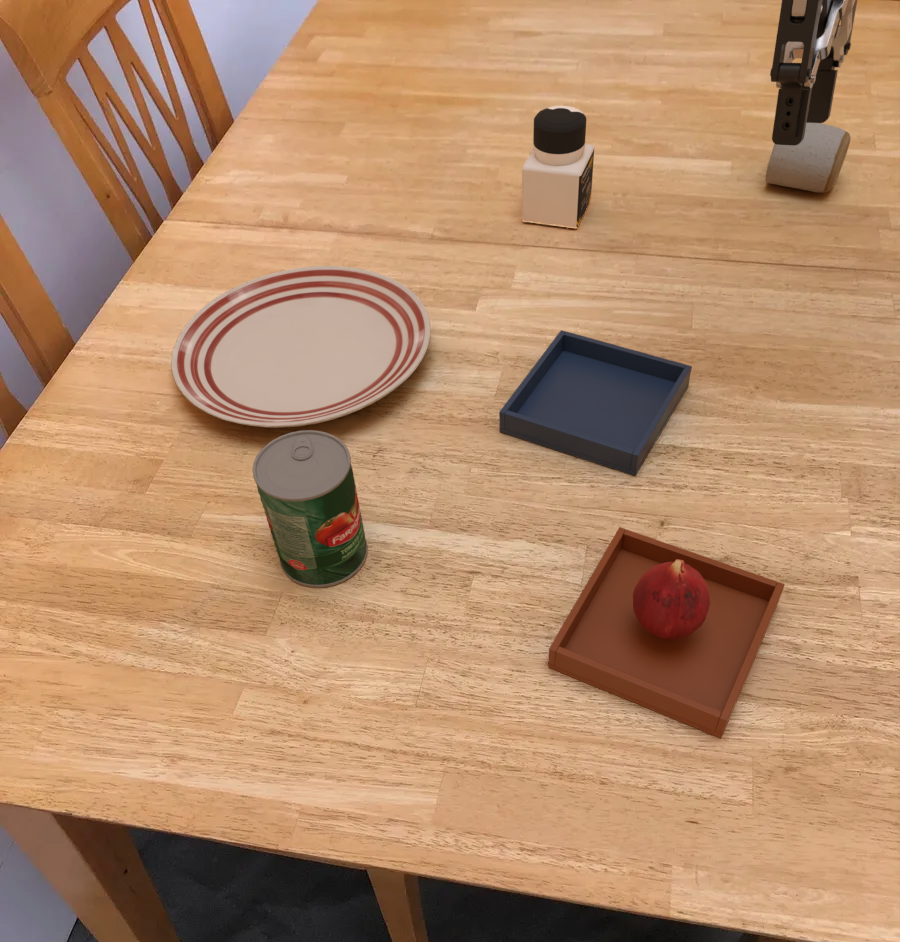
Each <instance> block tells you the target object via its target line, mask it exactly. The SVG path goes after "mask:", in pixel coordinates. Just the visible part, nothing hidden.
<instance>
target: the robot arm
mask: <svg viewBox="0 0 900 942" xmlns="http://www.w3.org/2000/svg"><path fill="white" fill-rule="evenodd" d="M857 3H858V0H781V5H780V12H779V19H778V25H777V31H776V39H775V46H774V51H773V59H772V65H771V68H770V73H769V77H770V82H771V83H775V87H776V89H778V92H777V99H776V107H775V113H774V120H773V128H772V133H771V141H772V143H773V144H777V145H794V146H795V145H798V144H799V143H800V142H802V141H803V139H804V135H805V129H806V123H822V124H825V122H827V121H828V120H829V119H830V117H831V112H832V107H833V101H834V100H833V99H834V95H835V89H836V83H837V78H838V72H839V70H838V69H837V68H839V69H840V68H841V67H842V64H843V63H844V61H845V56H847V55H848V53H849V51H850V50H851V46H852V41H851V39H852V33H853V30H854V29H853V28H854V23H855V18H856V17H855V16H856V10H857ZM796 59H801V62H793V61H795V60H796Z"/></svg>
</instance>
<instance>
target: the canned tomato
mask: <svg viewBox="0 0 900 942" xmlns="http://www.w3.org/2000/svg"><path fill="white" fill-rule="evenodd" d="M352 466H353V465H352V458H351V453H350V450H349V448H348V447H347V445H346V444H345V443H344V442H343V441H342V440H341V439H340V438H338V437H337V436H336V435H333V434H331V433H329V432H327V431H326V432H325V431H321V430H315V429H314V430H312V429H308V430H307V429H305V430H297V431H291V432H288V433H285V434H283V435H280V436H278V437H276V438H274V439H272V440H271V441H270V442H268V443H266V445H265V446H263V448H261V449H260V450H259V452H258V453H257V455H256V456H255V459H254V461H253V464H252V477H253V478H252V479H253V480H254V482H255V484H256V488H257V493H258V495H259V497H260V502H261V504H262V508H263V511H264V515H265V517H266V521H267V523H268V528H269V531H270V535H271V537H272V540H273V544H274V548H275V550H276V553H277V556H278V559H279V565H280V568H281V569H282V571H283V574H285V576H286V577H287V578H288V579H290V580H291V581H292V582H294V583H296V584H298V585H300V586H304V587H308V588H317V589H319V588H328V587H333V586H337V585H339V584H342V583H344V582H346V581H348V580H349V579H351V578H352V577H353V576H355V575H356V574H357V573H358V572H359V571H360V570H361V568H363V566H364V564H365V562H366V561H367V560H366V559H367V556H368V548H369V547H368V542H367V539H366V532H365V527H364V523H363V517H362V512H361V506H360V501H359V496H358V492H357V486H356V480H355V476H354V470H353V467H352Z"/></svg>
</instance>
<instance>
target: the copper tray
mask: <svg viewBox="0 0 900 942" xmlns="http://www.w3.org/2000/svg"><path fill="white" fill-rule="evenodd" d="M677 559H680V560H683V561H684V564H688V565H690V566H691V567H692V568H694V569H695V570H697V571H698V572H699V573H700V574H701V576H702V577H703V579H704V580H705V582H706V583H707V585H708V590H709V597H710V606H709V610H708V613H707V616H706V619H705V621H704V622H703V624H702V625H701V627H699V628H698V629H697V630H696V631H694V632H693V633H692V634H691V635H689V636H687V637H683V638H679V639H675V640H673V639H665V638H660V637H658V636H656V635H653V634H651V633H649V632H648V631H647V630H646V629H645V628H644V627H643V626H642V625H641V624H640V622H639V621H638V619H637V617H636V615H635V613H634V608H633V592H634V589H635V587H636V585H637V583H638V581H639V580H640V578H641V577H642V575H643V574H644V573H646V572H647V571H648V570H650V569H651V568H652V567H654V566H656V565H658V564H662V563H666V562H675V561H676V560H677ZM784 588H785V583H782V582H780V581H777V580H774V579H772V578H768V577H766V576H762V575H759V574H756V573H753V572H750V571H748V570H745V569H743V568H739V567H736V566H734V565H730V564H728V563H725V562H722V561H719V560H716V559H713V558H710V557H708V556H704V555H702V554H699V553H696V552H693V551H690V550H687V549H684V548H681V547H679V546H676V545H672V544H670V543H667V542H664V541H661V540H658V539H656V538H652V537H650V536H647V535H644V534H641V533H638V532H635V531H633V530H630V529H626V528H625V527H620V526H619V527H618V529H617V531H616V532H615V534H614V536H613V538H612V539H611V541H610V542H609V544H608V546H607V547H606V549H605V551H604V553H603V554H602V556H601V558H600V560H599V562H598V563H597V565H596V566H595V568H594V570H593V572H592V574H591V575H590V577H589V579H588V580H587V582H586V584H585V586H583V589H582V591H581V593H580V594H579V596H578V598H577V600H576V601H575V603H574V605H573V606H572V608H571V609H570V611H569V613H568V615H567V617H566V619H564V622H563V624H562V625H561V627H560V628H559V631H558V632H557V634H556V636H555V638H554V639H553V641H552V642H551V645H550V646H549V648H548V657H547V658H548V659H547V662H548V663H547V668H549V669H552V670H554V671H556V672H558V673H561V674H564V675H566V676H568V677H571V678H573V679H576V680H578V681H580V682H583V683H585V684H588V685H590V686H592V687H595V688H597V689H600V690H602V691H605V692H607V693H610V694H612V695H615V696H617V697H619V698H622V699H624V700H626V701H629V702H632V703H634V704H637V705H639V706H642V707H643V708H646V709H647V710H648V709H649V710H650V711H654V712H656V713H659V714H661V715H663V716H665V717H668V718H670V719H672V720H675V721H678V722H680V723H683V724H685V725H687V726H689V727H692V728H694V729H697V730H700V731H702V732H703V733H706V734H709V735H711V736H714V737H717V738H719V739H722V738H723V735H724V733H725V731H726V728H727V726H728V723H729V721H730V719H731V716H732V714H733V711H734V709H735V707H736V705H737V703H738V700H739V697H740V695H741V692H742V690H743V688H744V686H745V683H746V681H747V679H748V676H749V673H750V671H751V668H752V666H753V665H754V661H755V659H756V657H757V655H758V652H759V650H760V647H761V645H762V643H763V640H764V637H765V635H766V633H767V630H768V629H769V626H770V624H771V621H772V619H773V616H774V614H775V612H776V609H777V607H778V605H779V602H780V599H781V596H782V594H783V591H784Z"/></svg>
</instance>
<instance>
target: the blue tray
mask: <svg viewBox="0 0 900 942" xmlns="http://www.w3.org/2000/svg"><path fill="white" fill-rule="evenodd" d="M692 369H693V366H692V365H689V364H687V363H682V362H679V361H675V360H671V359H668V358H665V357H661V356H657V355H654V354H649V353H646V352H642V351H639V350H635V349H631V348H628V347H624V346H620V345H617V344H614V343H610V342H606V341H602V340H599V339H595V338H591V337H589V336H585V335H581V334H577V333H574V332H569V331H566V330H562V329H561V330H560V331H559V332H558V333H557V334H556V336H555V337H554V339H553V340H552V341H551V343H550V344H549V345H548V346H547V348H546V349H545V351H544V352H543V353H542V354H541V356H540V357H539V359H538V360H537V361H536V363H535V364H534V365H533V366H532V368H531V370H529V372H528V373H527V375H525V377H524V378H523V379H522V381H521V382H520V384H519V385H518V387H517V388H516V389H515V390H514V392H513V393H512V394H511V396H510V397H509V398H508V400H507V401H506V402H505V403H504V404H503V407H502V408H501V409H500V410H499V412H498V413H499V418H498V419H499V420H498V421H499V433H502V434H504V435H508V436H511V437H513V438H517V439H520V440H522V441H526V442H529V443H532V444H535V445H539V446H542V447H545V448H547V449H551V450H554V451H557V452H560V453H562V454H563V453H564V454H566V455H569V456H572V457H575V458H578V459H581V460H585V461H588V462H590V463H594V464H598V465H600V466H603V467H606V468H609V469H612V470H614V471H615V470H616V471H619V472H621V473H624V474H628V475H630V476H634V477H635V476H637V474H638V472H639V471H640V469H641V468H642V465H644V462H645V461H646V459H647V458H648V456H649V454H650V452H651V450H652V449H653V448H654V446H655V445H656V444H655V443H656V442H657V441H658V439H659V437H660V435H661V433H662V432H663V431H664V429H665V427H666V426H667V423H668V422H669V420H670V418H671V416H672V415H673V413H674V412H675V410H676V408H677V407H678V405H679V403H680V401H681V400H682V398H683V397H684V395H685V393H686V392H687V390H688V388H689V385H690V381H691V380H690V378H691V374H692Z"/></svg>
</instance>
